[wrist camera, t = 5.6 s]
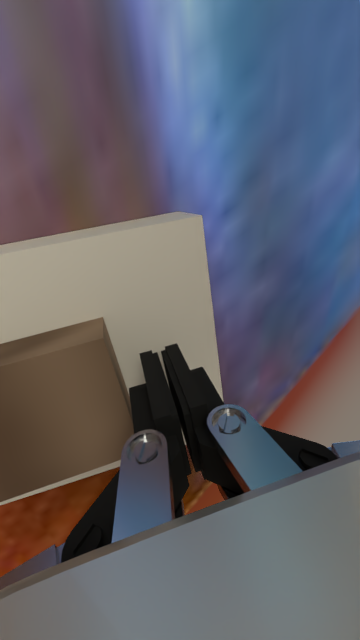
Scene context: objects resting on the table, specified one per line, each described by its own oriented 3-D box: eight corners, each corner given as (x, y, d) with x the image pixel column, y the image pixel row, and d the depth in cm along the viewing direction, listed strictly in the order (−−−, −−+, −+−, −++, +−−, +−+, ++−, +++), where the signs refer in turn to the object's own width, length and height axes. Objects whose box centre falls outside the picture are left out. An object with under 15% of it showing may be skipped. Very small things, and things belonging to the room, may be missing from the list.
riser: (178, 211, 14) (202, 215, 11) (204, 389, 20) (226, 431, 16) (-123, 268, 12) (-216, 296, 9) (-3, 451, 17) (-31, 515, 14)
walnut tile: (102, 316, 11) (103, 337, 10) (137, 420, 14) (142, 452, 12) (-141, 381, 10) (-192, 419, 8) (-53, 483, 13) (-78, 529, 11)
